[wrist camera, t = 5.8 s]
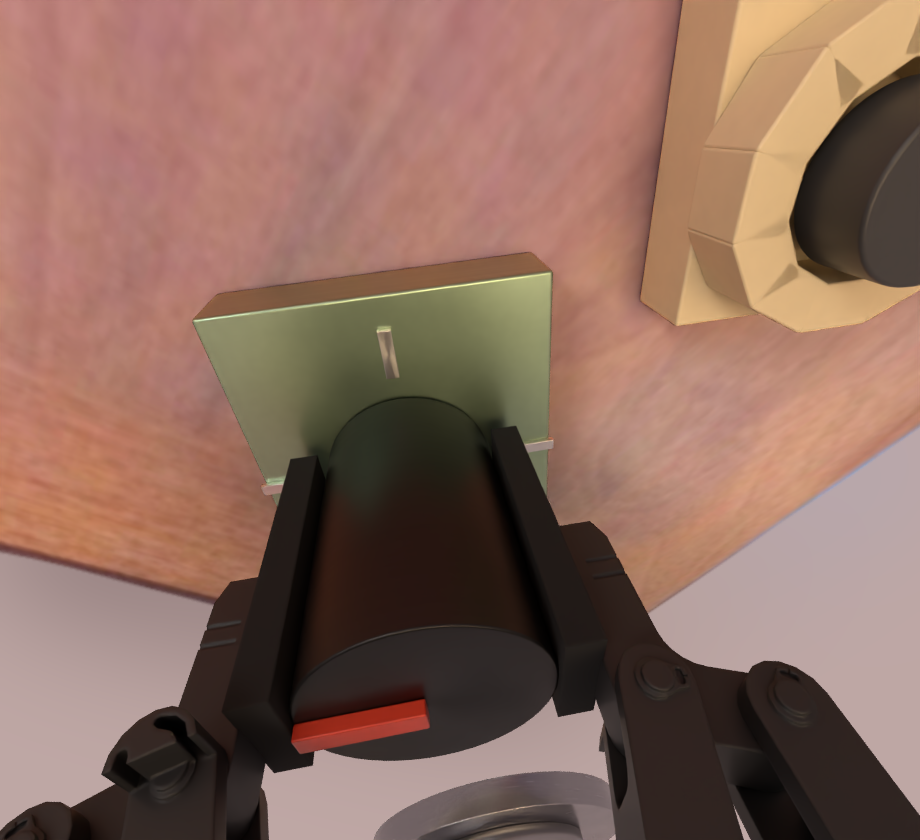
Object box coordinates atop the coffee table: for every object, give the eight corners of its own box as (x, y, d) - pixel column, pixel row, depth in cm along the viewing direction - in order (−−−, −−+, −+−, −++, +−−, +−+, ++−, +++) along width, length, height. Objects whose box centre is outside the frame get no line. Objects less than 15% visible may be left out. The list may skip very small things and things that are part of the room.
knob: (483, 385, 13) (571, 618, 7) (492, 507, 16) (560, 749, 10) (308, 412, 12) (240, 681, 6) (350, 532, 15) (328, 797, 9)
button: (911, 255, 11) (994, 276, 9) (769, 275, 10) (832, 300, 9) (1002, 63, 9) (1126, 52, 7) (828, 84, 8) (920, 76, 7)
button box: (897, 264, 15) (1043, 305, 12) (631, 302, 14) (705, 357, 11) (1124, -230, 9) (1539, -426, 6) (697, -201, 9) (892, -399, 5)
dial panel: (534, 514, 19) (549, 555, 17) (319, 551, 19) (312, 597, 17) (535, 250, 13) (559, 271, 11) (211, 293, 12) (183, 323, 11)
